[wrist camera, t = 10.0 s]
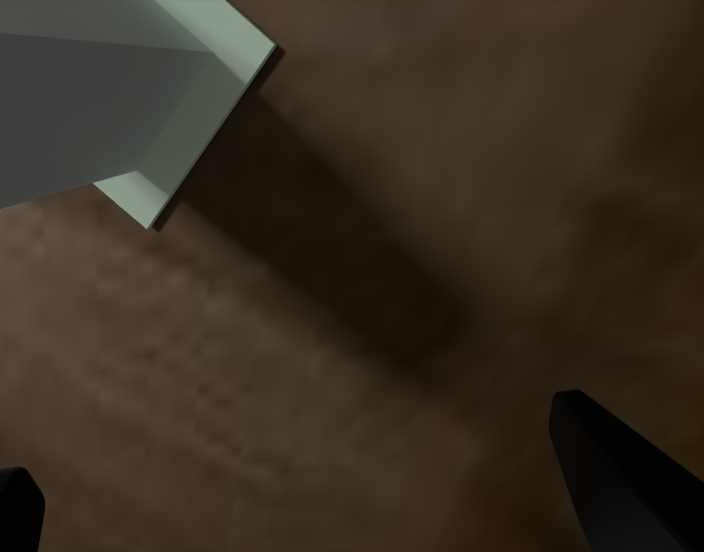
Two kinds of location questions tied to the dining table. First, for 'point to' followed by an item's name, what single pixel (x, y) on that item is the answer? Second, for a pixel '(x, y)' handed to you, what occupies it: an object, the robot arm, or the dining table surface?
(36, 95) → the tea tin
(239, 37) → the pad
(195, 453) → the dining table surface
